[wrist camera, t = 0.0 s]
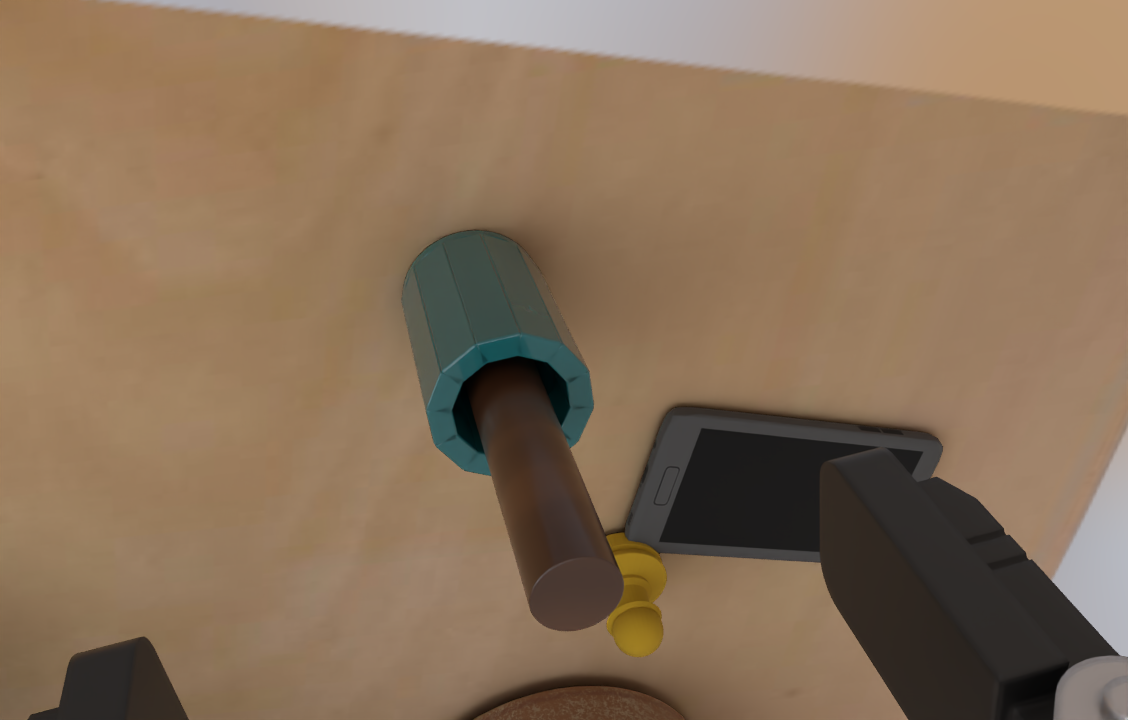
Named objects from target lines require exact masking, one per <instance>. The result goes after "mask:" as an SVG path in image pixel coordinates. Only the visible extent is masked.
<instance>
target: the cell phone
mask: <svg viewBox="0 0 1128 720" xmlns="http://www.w3.org/2000/svg"><path fill="white" fill-rule="evenodd" d="M879 447H884V448H886V449H888V450H889V451H891V452H892V453H893V454H894V456H895V457H896V458H897V459H898V460H899V461H900V463H901V464H902V465H903V466H904V467H905V468H906V470H907V471H908V472H909V473H910V474H911V476H912V477H913V478H914V479H915V480H916V481H917V482H919V481H923V480H927V479H930V478H931V476H932V474H933V472H934V470H935V468H936V466H937V464H938V462H939V460H940V457H941V454H942V451H943V446H942V444H941V443H940V441H939V440H938V438H936V437H934V436H932V435H930V434H928V433H923V432H915V431H906V430H897V429H888V428H879V427H870V426H861V425H851V424H842V423H833V422H824V421H815V420H806V419H797V418H788V417H779V416H770V415H761V414H752V413H742V412H733V411H724V410H715V409H706V408H694V407H675V408H674V409H673V410H671V411H670V412H668V413H667V414H666V416H665V418H664V420H663V423H662V425H661V427H660V429H659V432H658V434H657V437H656V440H655V443H654V446H653V449H652V451H651V454H650V457H649V460H648V463H647V465H646V468H645V471H644V474H643V477H642V480H641V482H640V485H639V488H638V491H637V494H636V496H635V499H634V502H633V505H632V508H631V511H630V513H629V516H628V519H627V522H626V526H625V531H624V533H625V537H626V538H627V539H628V540H629V541H634V542H640V543H643V544H647V545H648V546H650V547H652V548H653V549H654V550H655V551H656V552H657V553H671V554H688V555H704V556H721V557H737V558H754V559H770V560H787V561H803V562H820V563H821V561H820V469H821V466H822V464H823V463H824V462H826V461H829V460H833V459H837V458H841V457H845V456H848V455H852V454H856V453H860V452H864V451H868V450H872V449H875V448H879Z"/></svg>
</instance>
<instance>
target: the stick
mask: <svg viewBox="0 0 1128 720" xmlns="http://www.w3.org/2000/svg"><path fill="white" fill-rule="evenodd" d="M464 384H465V387H466V391H467V394H468V398H469V401H470V404H471V408H472V411H473V415H474V418H475V422H476V425H477V428H478V432H479V435H480V439H481V442H482V446H483V449H484V452H485V456H486V459H487V463H488V466H489V470H490V473H491V477H492V480H493V483H494V487H495V490H496V494H497V497H498V501H499V504H500V507H501V511H502V514H503V518H504V521H505V525H506V528H507V531H508V535H509V538H510V542H511V545H512V549H513V552H514V555H515V559H516V562H517V566H518V569H519V573H520V576H521V580H522V583H523V586H524V590H525V593H526V597H527V600H528V604H529V607H530V610H531V613H532V615H533V616H534V617H535V619H536V620H537V621H538V622H539V623H541V624H542V625H544V626H546V627H548V628H550V629H553V630H558V631H576V630H581V629H585V628H588V627H590V626H593V625H595V624H597V623H599V622H600V621H602V620H603V619H605V618H606V617H607V616H608V615H610V614H611V613H612V612H613V611H614V609H615V608H616V607H617V605H618V604H619V602H620V600H621V598H622V595H623V591H624V580H623V576H622V574H621V571H620V569H619V567H618V564H617V562H616V559H615V557H614V554H613V552H612V550H611V547H610V545H609V542H608V540H607V537H606V535H605V532H604V530H603V528H602V525H601V523H600V520H599V518H598V515H597V513H596V511H595V508H594V506H593V503H592V501H591V498H590V496H589V494H588V491H587V489H586V486H585V484H584V481H583V479H582V477H581V474H580V472H579V469H578V467H577V464H576V462H575V459H574V457H573V455H572V452H571V450H570V447H569V445H568V442H567V440H566V438H565V435H564V433H563V430H562V428H561V425H560V423H559V421H558V418H557V416H556V413H555V411H554V408H553V406H552V403H551V401H550V399H549V396H548V394H547V391H546V389H545V386H544V384H543V382H542V379H541V377H540V374H539V372H538V369H537V367H536V365H535V362H534V360H533V359H530V358H525V357H521V356H516V357H511V358H507V359H503V360H499V361H494V362H490V363H486V364H485V365H484V366H483V367H481V368H480V369H479V370H478V371H477V372H475V373H474V374H473V375H472V376H470V377H469V378H468V379H467V380H465V381H464Z"/></svg>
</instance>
